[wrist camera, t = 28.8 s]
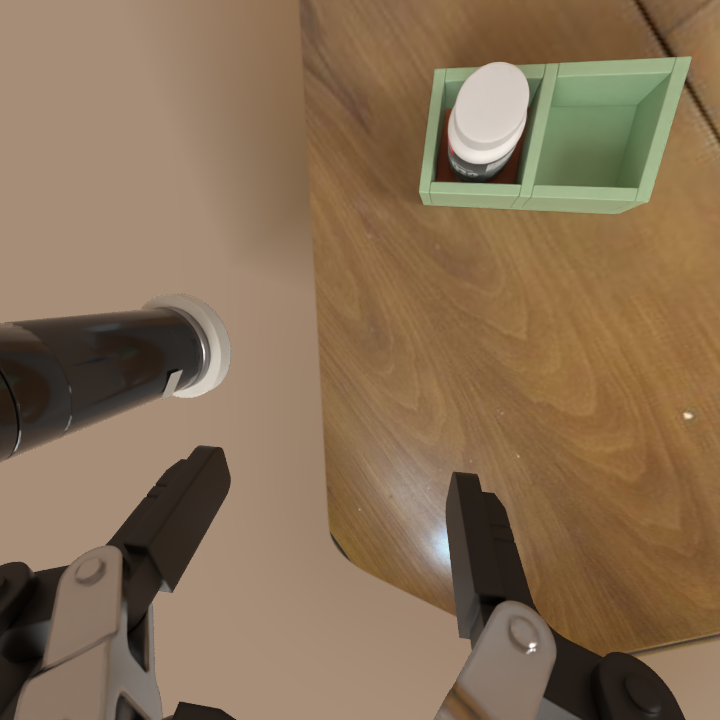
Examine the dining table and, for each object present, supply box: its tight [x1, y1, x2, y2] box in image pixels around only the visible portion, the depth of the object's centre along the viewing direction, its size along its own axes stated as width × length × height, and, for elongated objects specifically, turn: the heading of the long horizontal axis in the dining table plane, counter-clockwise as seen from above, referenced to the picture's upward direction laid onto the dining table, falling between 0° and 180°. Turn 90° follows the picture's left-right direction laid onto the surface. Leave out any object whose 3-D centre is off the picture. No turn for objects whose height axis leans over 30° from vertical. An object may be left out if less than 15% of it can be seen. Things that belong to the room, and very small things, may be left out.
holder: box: [419, 56, 692, 214], centre depth 24 cm, size 15×8×4 cm, turn 84°
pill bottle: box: [448, 62, 529, 183], centre depth 23 cm, size 5×5×8 cm
